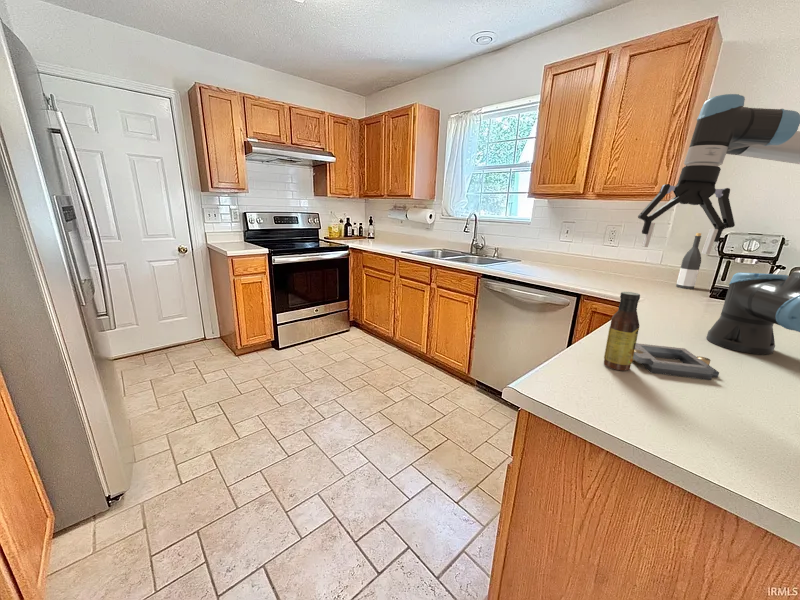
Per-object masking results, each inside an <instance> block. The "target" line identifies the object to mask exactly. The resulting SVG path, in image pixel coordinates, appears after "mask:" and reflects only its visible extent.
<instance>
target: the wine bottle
mask: <svg viewBox="0 0 800 600" xmlns="http://www.w3.org/2000/svg"><path fill="white" fill-rule="evenodd" d="M701 239H702V232H696V234H695V235H694V240H693V243H692V244H693V245H692V247H691V248H690V249H688V251H687V252H686V253H685V255H684V256H683V258H682V261H681V264H680V268H679V272H678V277H677V281H676V284H675V287H676V288H679V289H686V290H694V289H695V286H696V282H697V279H698V275H699V273H700V272H699V270H700V267H701V264H702V253H701V252H700V249H699V247H700V242H701Z"/></svg>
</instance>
